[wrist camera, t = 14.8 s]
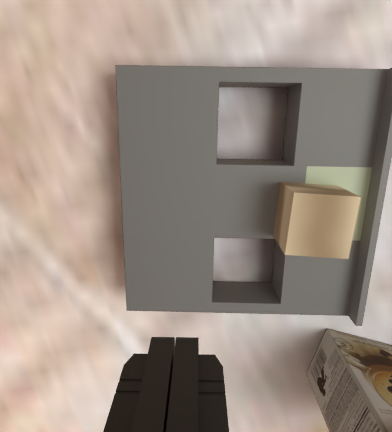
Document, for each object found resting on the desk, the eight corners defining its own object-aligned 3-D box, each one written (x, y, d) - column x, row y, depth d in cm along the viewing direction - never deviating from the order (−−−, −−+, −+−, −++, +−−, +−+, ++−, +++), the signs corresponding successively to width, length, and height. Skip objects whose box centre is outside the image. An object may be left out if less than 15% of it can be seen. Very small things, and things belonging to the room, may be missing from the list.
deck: (135, 288, 34) (122, 320, 28) (127, 72, 28) (110, 61, 23) (336, 293, 33) (361, 325, 28) (368, 76, 28) (407, 66, 22)
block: (273, 235, 28) (284, 254, 24) (280, 181, 26) (294, 192, 22) (327, 239, 28) (348, 259, 24) (337, 185, 26) (361, 196, 22)
